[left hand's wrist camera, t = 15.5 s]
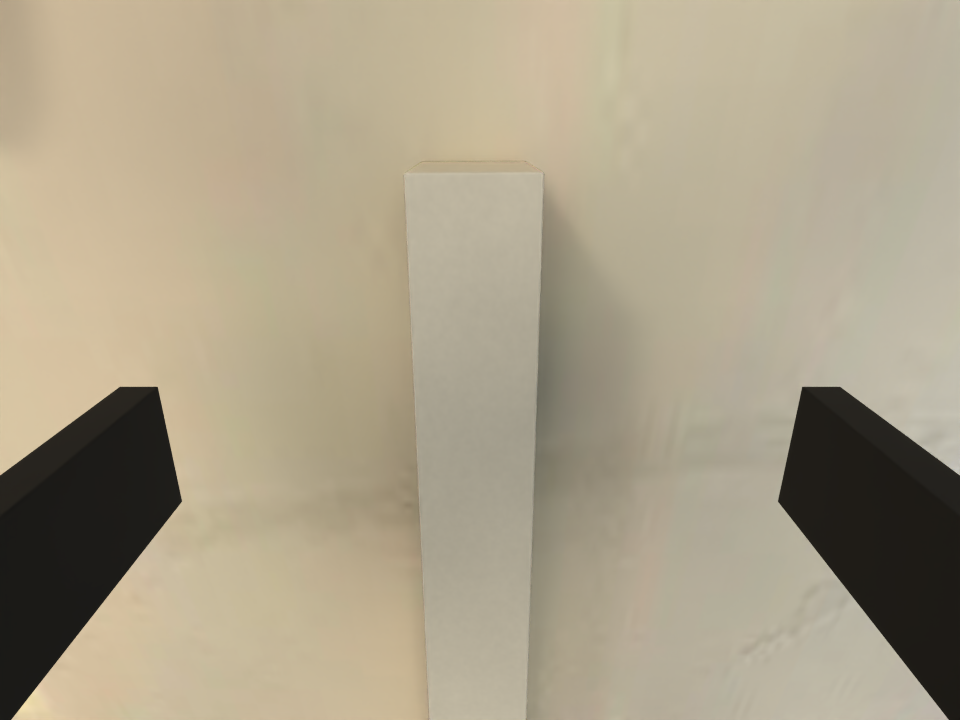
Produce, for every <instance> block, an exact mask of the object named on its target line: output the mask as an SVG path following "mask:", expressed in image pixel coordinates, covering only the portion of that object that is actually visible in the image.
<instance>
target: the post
mask: <svg viewBox="0 0 960 720" xmlns="http://www.w3.org/2000/svg"><path fill="white" fill-rule="evenodd" d="M404 195H405V217H406V238H407V260H408V282H409V303H410V325H411V346H412V368H413V389H414V411H415V432H416V454H417V475H418V497H419V518H420V540H421V561H422V583H423V605H424V626H425V648H426V669H427V691H428V712H429V720H527V689H528V658H529V628H530V597H531V566H532V536H533V505H534V474H535V443H536V413H537V382H538V351H539V321H540V290H541V259H542V228H543V198H544V172H542V171H540V170H539V169H537V168H536V167H534V166H532V165H531V164H529V163H528V162H526V161H464V162H421V163H419V164H417V165H416V166H414V167H413V168H411V169H410V170H408V171H407V172H405V173H404Z"/></svg>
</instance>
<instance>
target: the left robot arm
mask: <svg viewBox="0 0 960 720" xmlns="http://www.w3.org/2000/svg"><path fill="white" fill-rule="evenodd" d="M181 502H182V499H181V495H180V490H179V485H178V480H177V476H176V471H175V466H174V462H173V457H172V452H171V448H170V443H169V438H168V433H167V429H166V424H165V419H164V415H163V410H162V405H161V401H160V396H159V391H158V387H119V388H118V389H117V390H115V391H114V392H112V393H111V394H110V395H108V396H107V397H106V398H104V399H103V400H102V401H100V402H99V403H98V404H96V405H95V406H94V407H92V408H91V409H90V410H88V411H87V412H85V413H84V414H83V415H81V416H80V417H79V418H77V419H76V420H75V421H73V422H72V423H71V424H69V425H68V426H67V427H65V428H64V429H62V430H61V431H60V432H58V433H57V434H56V435H54V436H53V437H52V438H50V439H49V440H48V441H46V442H45V443H44V444H42V445H41V446H39V447H38V448H37V449H35V450H34V451H33V452H31V453H30V454H29V455H27V456H26V457H25V458H23V459H22V460H21V461H19V462H18V463H17V464H15V465H14V466H12V467H11V468H10V469H8V470H7V471H6V472H4V473H3V474H2V475H0V720H11V719H12V718H13V717H14V715H15V714H16V713H17V712H18V710H19V709H20V708H21V706H22V705H23V704H24V703H25V701H26V700H27V699H28V697H29V696H30V695H31V694H32V692H33V691H34V690H35V689H36V687H37V686H38V685H39V683H40V682H41V681H42V680H43V678H44V677H45V676H46V674H47V673H48V672H49V671H50V669H51V668H52V667H53V666H54V664H55V663H56V662H57V660H58V659H59V658H60V657H61V655H62V654H63V653H64V651H65V650H66V649H67V648H68V646H69V645H70V644H71V643H72V641H73V640H74V639H75V637H76V636H77V635H78V634H79V632H80V631H81V630H82V628H83V627H84V626H85V625H86V623H87V622H88V621H89V620H90V618H91V617H92V616H93V614H94V613H95V612H96V611H97V609H98V608H99V607H100V605H101V604H102V603H103V602H104V600H105V599H106V598H107V597H108V595H109V594H110V593H111V591H112V590H113V589H114V588H115V586H116V585H117V584H118V582H119V581H120V580H121V579H122V577H123V576H124V575H125V574H126V572H127V571H128V570H129V568H130V567H131V566H132V565H133V563H134V562H135V561H136V559H137V558H138V557H139V556H140V554H141V553H142V552H143V551H144V549H145V548H146V547H147V545H148V544H149V543H150V542H151V540H152V539H153V538H154V536H155V535H156V534H157V533H158V531H159V530H160V529H161V528H162V526H163V525H164V524H165V522H166V521H167V520H168V519H169V517H170V516H171V515H172V513H173V512H174V511H175V510H176V508H177V507H178V506H179V505H180V503H181ZM778 502H779V503H780V505H781V506H782V507H783V508H784V510H785V511H786V512H787V513H788V515H789V516H790V517H791V519H792V520H793V521H794V522H795V524H796V525H797V526H798V528H799V529H800V530H801V531H802V533H803V534H804V535H805V536H806V538H807V539H808V540H809V542H810V543H811V544H812V545H813V547H814V548H815V549H816V551H817V552H818V553H819V554H820V556H821V557H822V558H823V559H824V561H825V562H826V563H827V565H828V566H829V567H830V568H831V570H832V571H833V572H834V574H835V575H836V576H837V577H838V579H839V580H840V581H841V582H842V584H843V585H844V586H845V588H846V589H847V590H848V591H849V593H850V594H851V595H852V597H853V598H854V599H855V600H856V602H857V603H858V604H859V605H860V607H861V608H862V609H863V611H864V612H865V613H866V614H867V616H868V617H869V618H870V620H871V621H872V622H873V623H874V625H875V626H876V627H877V628H878V630H879V631H880V632H881V634H882V635H883V636H884V637H885V639H886V640H887V641H888V643H889V644H890V645H891V646H892V648H893V649H894V650H895V651H896V653H897V654H898V655H899V657H900V658H901V659H902V660H903V662H904V663H905V664H906V666H907V667H908V668H909V669H910V671H911V672H912V673H913V674H914V676H915V677H916V678H917V680H918V681H919V682H920V683H921V685H922V686H923V687H924V689H925V690H926V691H927V692H928V694H929V695H930V696H931V697H932V699H933V700H934V701H935V703H936V704H937V705H938V706H939V708H940V709H941V710H942V712H943V713H944V714H945V715H946V717H947V718H948V719H949V720H960V475H958V474H957V473H956V472H954V471H953V470H952V469H950V468H949V467H948V466H946V465H945V464H943V463H942V462H941V461H939V460H938V459H937V458H935V457H934V456H933V455H931V454H930V453H929V452H927V451H926V450H925V449H923V448H922V447H921V446H919V445H918V444H916V443H915V442H914V441H912V440H911V439H910V438H908V437H907V436H906V435H904V434H903V433H902V432H900V431H899V430H898V429H896V428H895V427H893V426H892V425H891V424H889V423H888V422H887V421H885V420H884V419H883V418H881V417H880V416H879V415H877V414H876V413H875V412H873V411H872V410H870V409H869V408H868V407H866V406H865V405H864V404H862V403H861V402H860V401H858V400H857V399H856V398H854V397H853V396H852V395H850V394H849V393H848V392H846V391H845V390H843V389H842V388H841V387H802V391H801V396H800V401H799V405H798V410H797V415H796V419H795V424H794V429H793V433H792V438H791V443H790V448H789V452H788V457H787V462H786V466H785V471H784V476H783V480H782V485H781V490H780V495H779V499H778Z"/></svg>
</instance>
